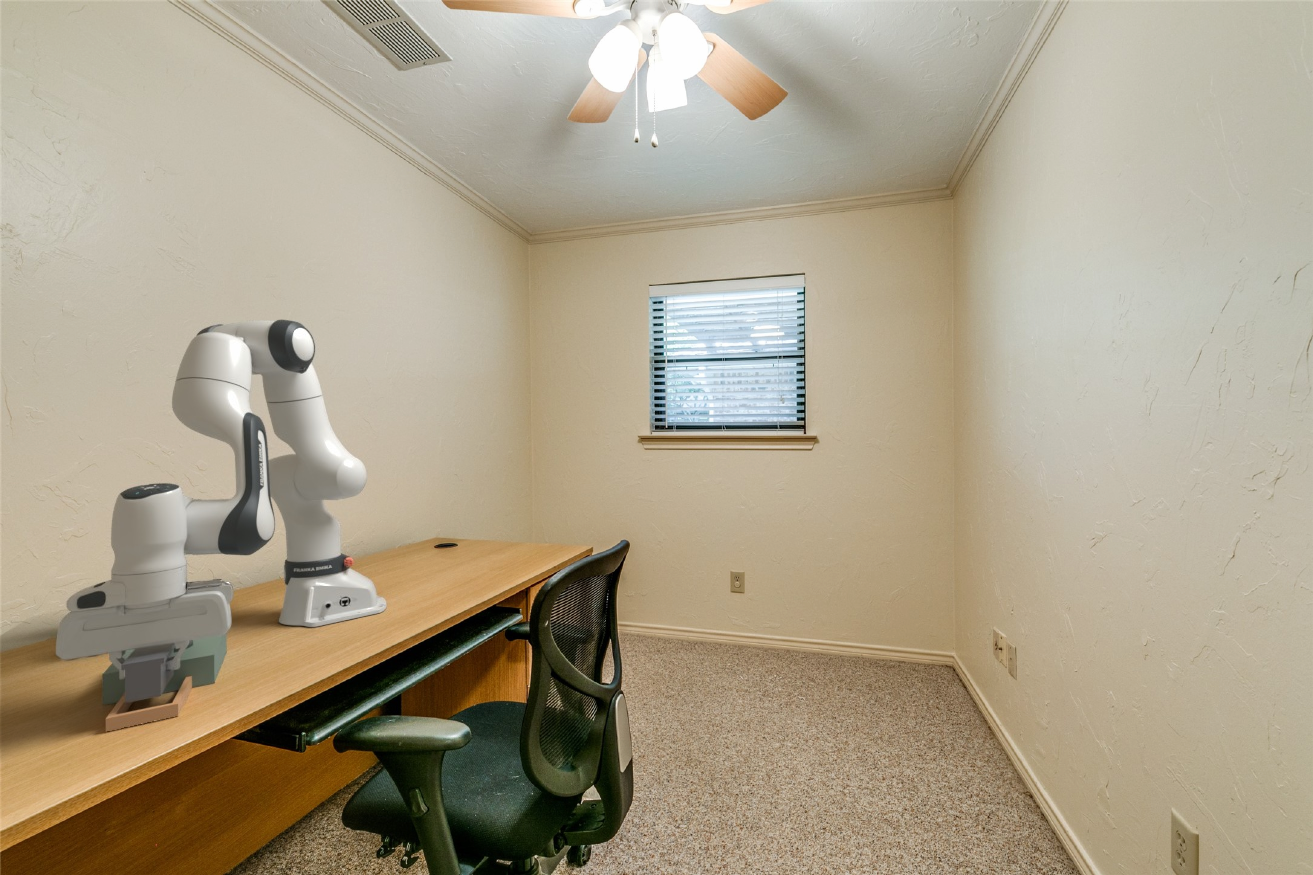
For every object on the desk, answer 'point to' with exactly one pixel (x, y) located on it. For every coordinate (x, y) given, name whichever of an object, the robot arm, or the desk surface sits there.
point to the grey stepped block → (147, 672)
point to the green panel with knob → (195, 670)
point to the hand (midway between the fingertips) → (150, 673)
